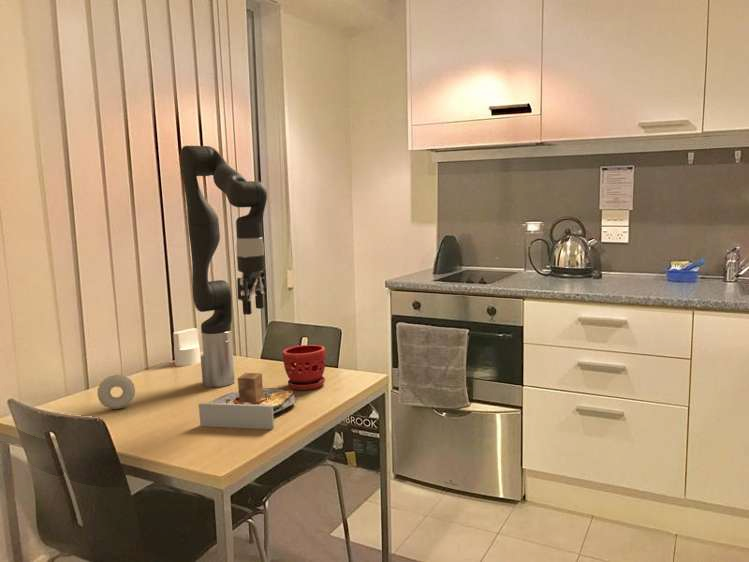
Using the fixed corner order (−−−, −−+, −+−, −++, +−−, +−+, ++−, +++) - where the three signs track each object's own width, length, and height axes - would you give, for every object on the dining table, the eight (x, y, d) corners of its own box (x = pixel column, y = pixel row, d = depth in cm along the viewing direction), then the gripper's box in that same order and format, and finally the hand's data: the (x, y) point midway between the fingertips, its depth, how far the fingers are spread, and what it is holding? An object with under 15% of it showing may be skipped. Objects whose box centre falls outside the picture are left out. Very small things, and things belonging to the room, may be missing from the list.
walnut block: (239, 402, 167) (237, 378, 166) (247, 396, 171) (245, 372, 170) (256, 403, 165) (254, 378, 164) (263, 397, 170) (261, 373, 169)
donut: (98, 413, 169) (95, 378, 167) (99, 409, 172) (96, 375, 171) (136, 408, 172) (133, 374, 171) (136, 404, 175) (133, 371, 174)
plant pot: (330, 379, 193) (328, 343, 192) (322, 392, 180) (320, 353, 179) (290, 379, 194) (288, 343, 193) (280, 392, 182) (277, 354, 180)
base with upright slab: (190, 358, 227) (187, 327, 225) (205, 361, 221) (203, 329, 220) (170, 364, 219) (167, 332, 218) (185, 367, 214) (182, 334, 213)
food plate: (251, 389, 185) (250, 378, 185) (312, 401, 174) (311, 389, 173) (189, 418, 164) (188, 405, 164) (253, 433, 152) (252, 420, 152)
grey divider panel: (200, 426, 156) (198, 403, 155) (202, 424, 157) (200, 402, 156) (272, 429, 152) (271, 406, 151) (274, 427, 153) (272, 405, 152)
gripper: (248, 251, 174) (251, 306, 176) (226, 256, 160) (230, 316, 162) (273, 251, 172) (275, 306, 175) (252, 256, 159) (255, 316, 161)
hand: (253, 311), depth 169 cm, fingers open, 8 cm apart
